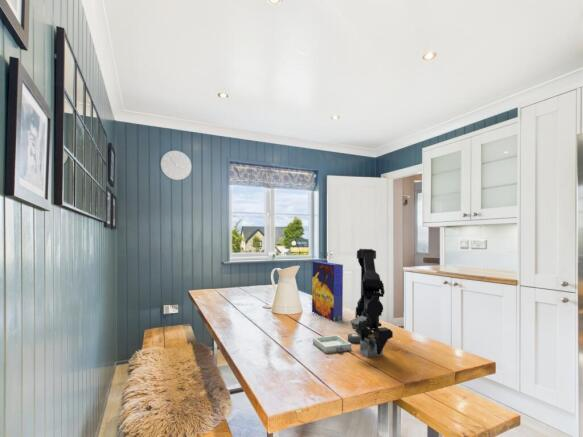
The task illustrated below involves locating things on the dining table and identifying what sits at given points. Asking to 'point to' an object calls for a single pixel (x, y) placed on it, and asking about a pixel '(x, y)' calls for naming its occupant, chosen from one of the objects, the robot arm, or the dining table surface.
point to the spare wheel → (354, 338)
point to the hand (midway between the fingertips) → (371, 350)
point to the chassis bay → (331, 344)
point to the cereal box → (327, 290)
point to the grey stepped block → (369, 347)
